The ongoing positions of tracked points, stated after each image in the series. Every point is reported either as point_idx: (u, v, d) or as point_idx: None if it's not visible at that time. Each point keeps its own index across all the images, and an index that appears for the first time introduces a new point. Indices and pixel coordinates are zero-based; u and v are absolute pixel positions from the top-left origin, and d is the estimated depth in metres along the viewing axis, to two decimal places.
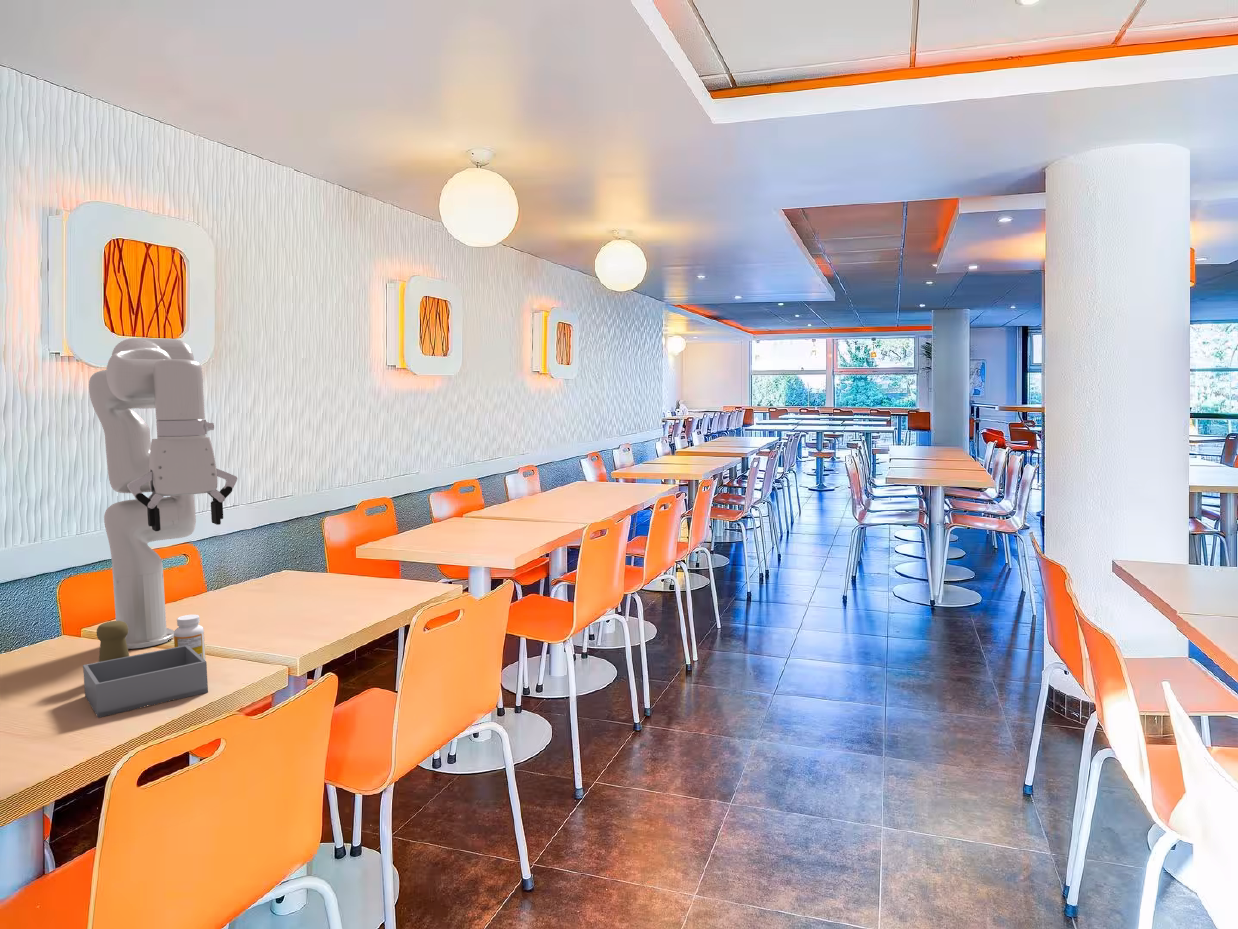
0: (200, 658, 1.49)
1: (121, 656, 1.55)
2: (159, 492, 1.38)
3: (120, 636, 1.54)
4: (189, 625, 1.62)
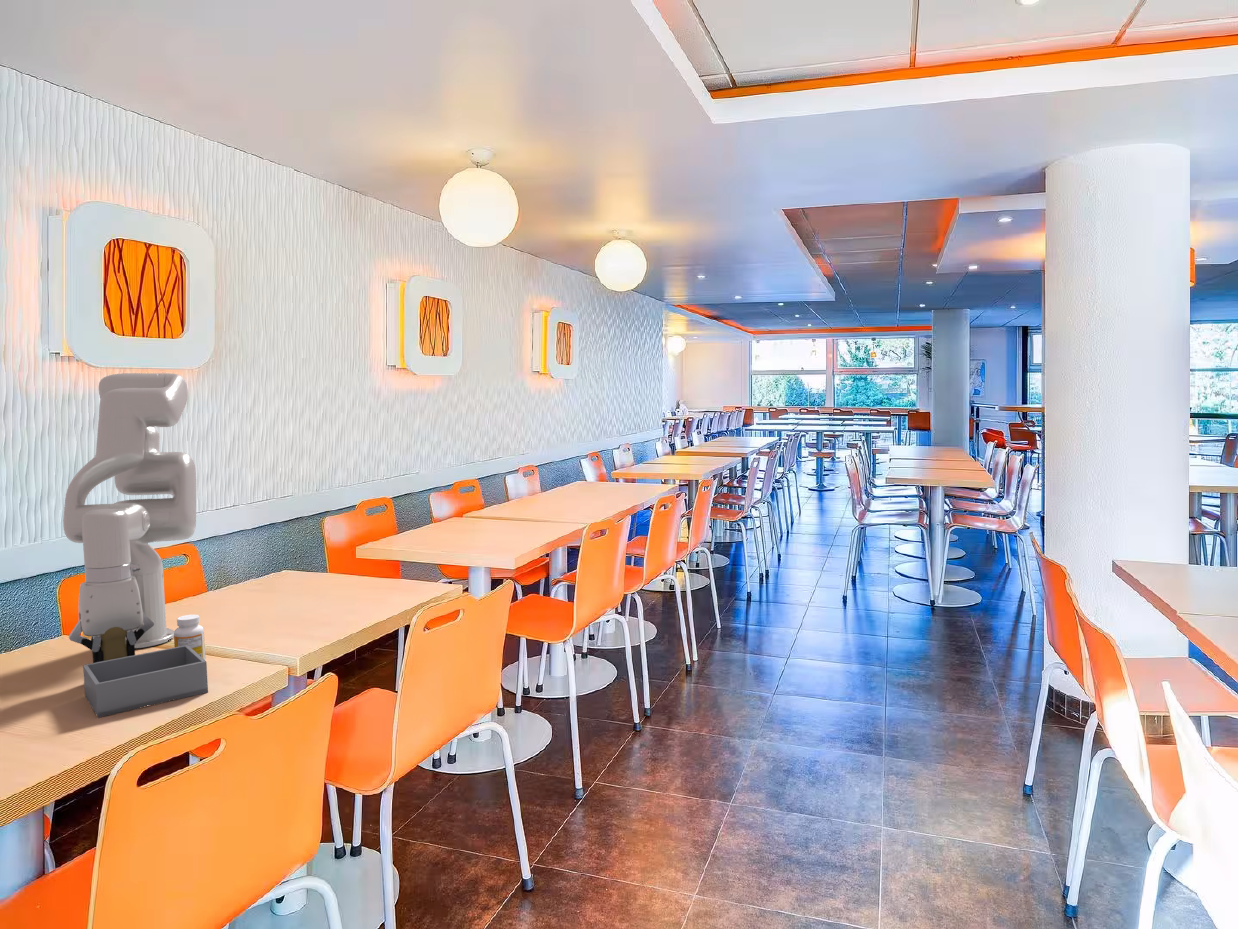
0: (200, 658, 1.49)
1: (121, 656, 1.55)
2: (86, 634, 1.51)
3: (120, 636, 1.54)
4: (189, 625, 1.62)
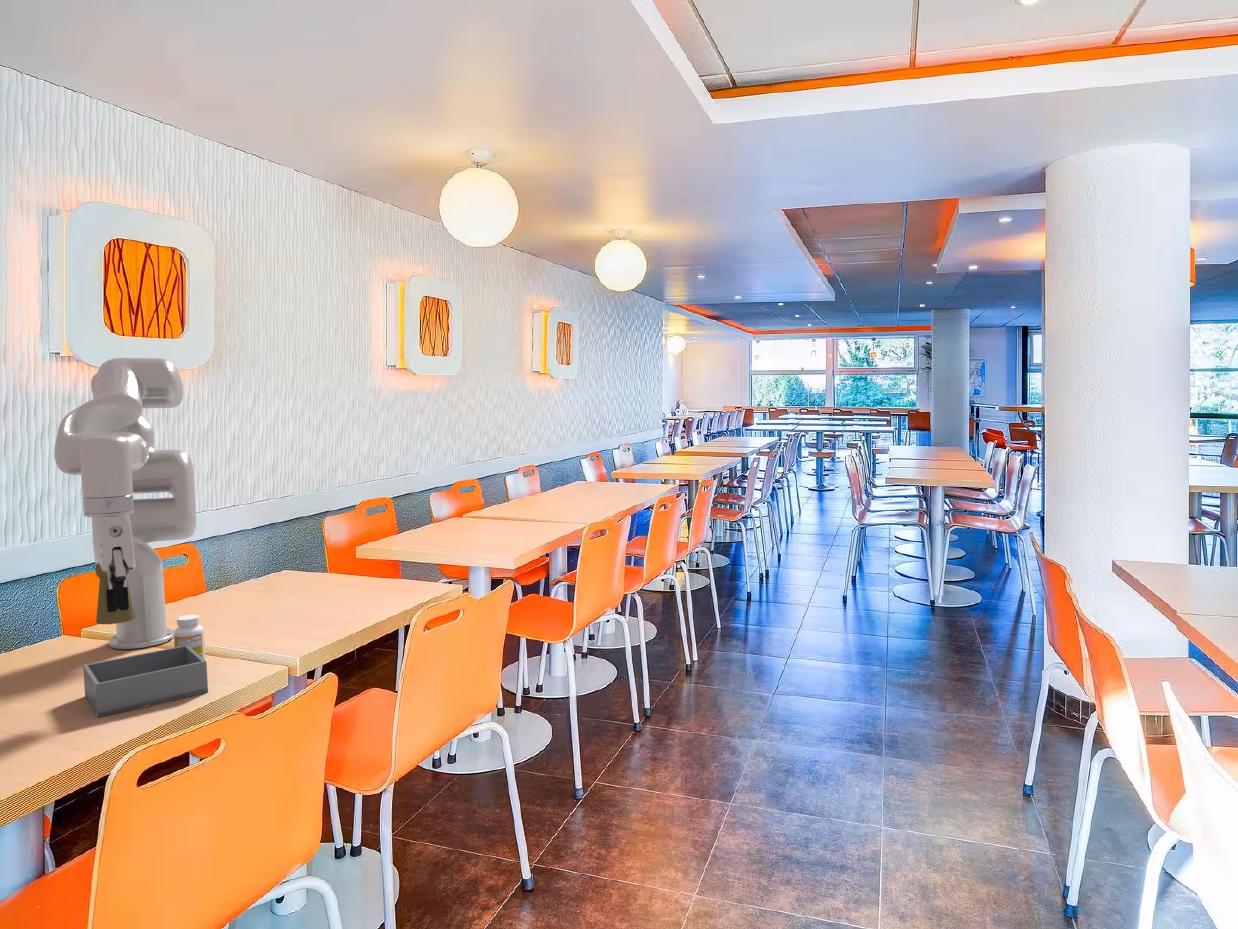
0: (200, 658, 1.49)
1: (100, 597, 1.41)
2: (95, 561, 1.45)
3: (99, 575, 1.41)
4: (189, 625, 1.62)
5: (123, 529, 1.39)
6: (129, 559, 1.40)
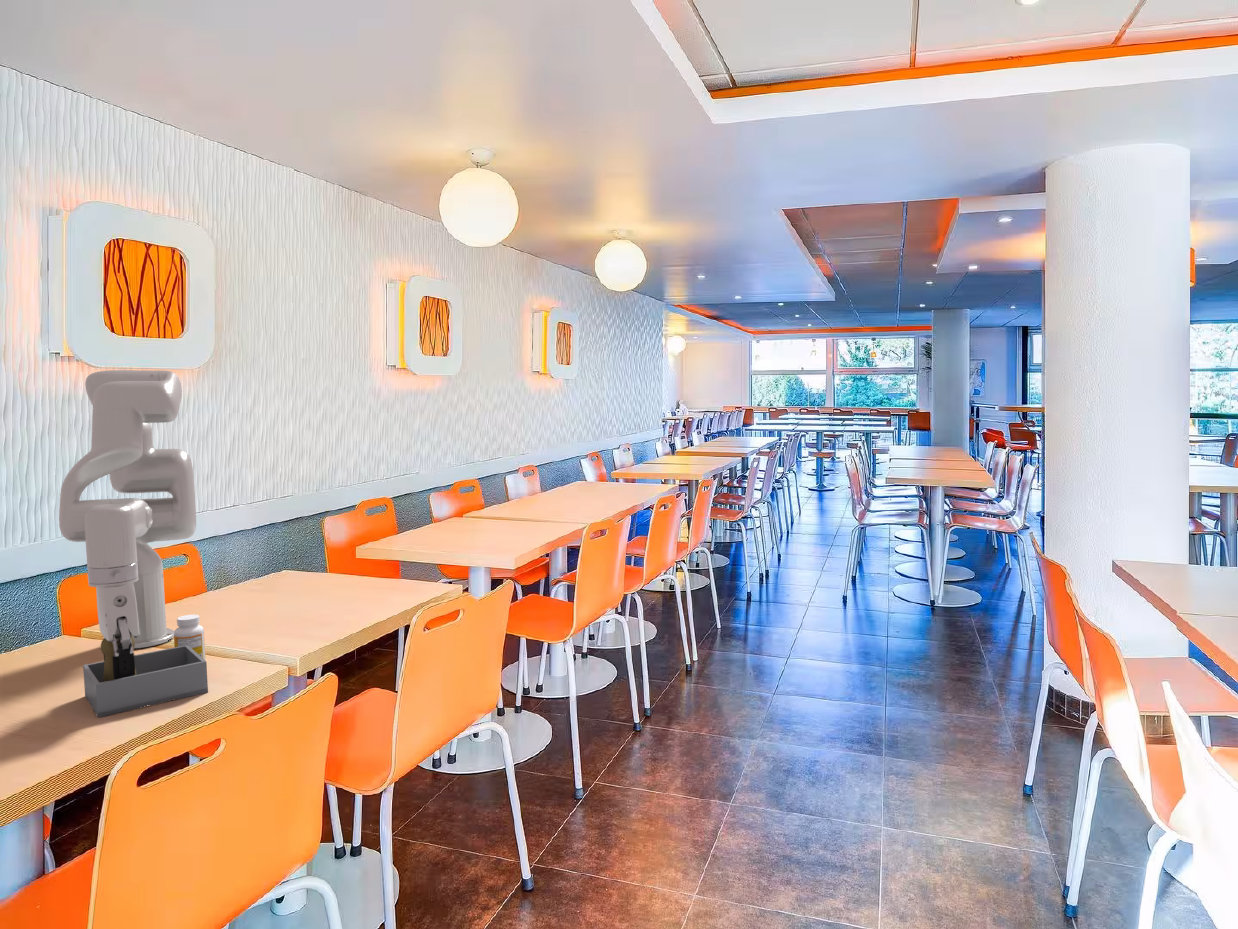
0: (200, 658, 1.49)
1: (105, 674, 1.42)
2: (100, 628, 1.46)
3: (104, 653, 1.42)
4: (189, 625, 1.62)
5: (127, 599, 1.40)
6: (133, 628, 1.41)
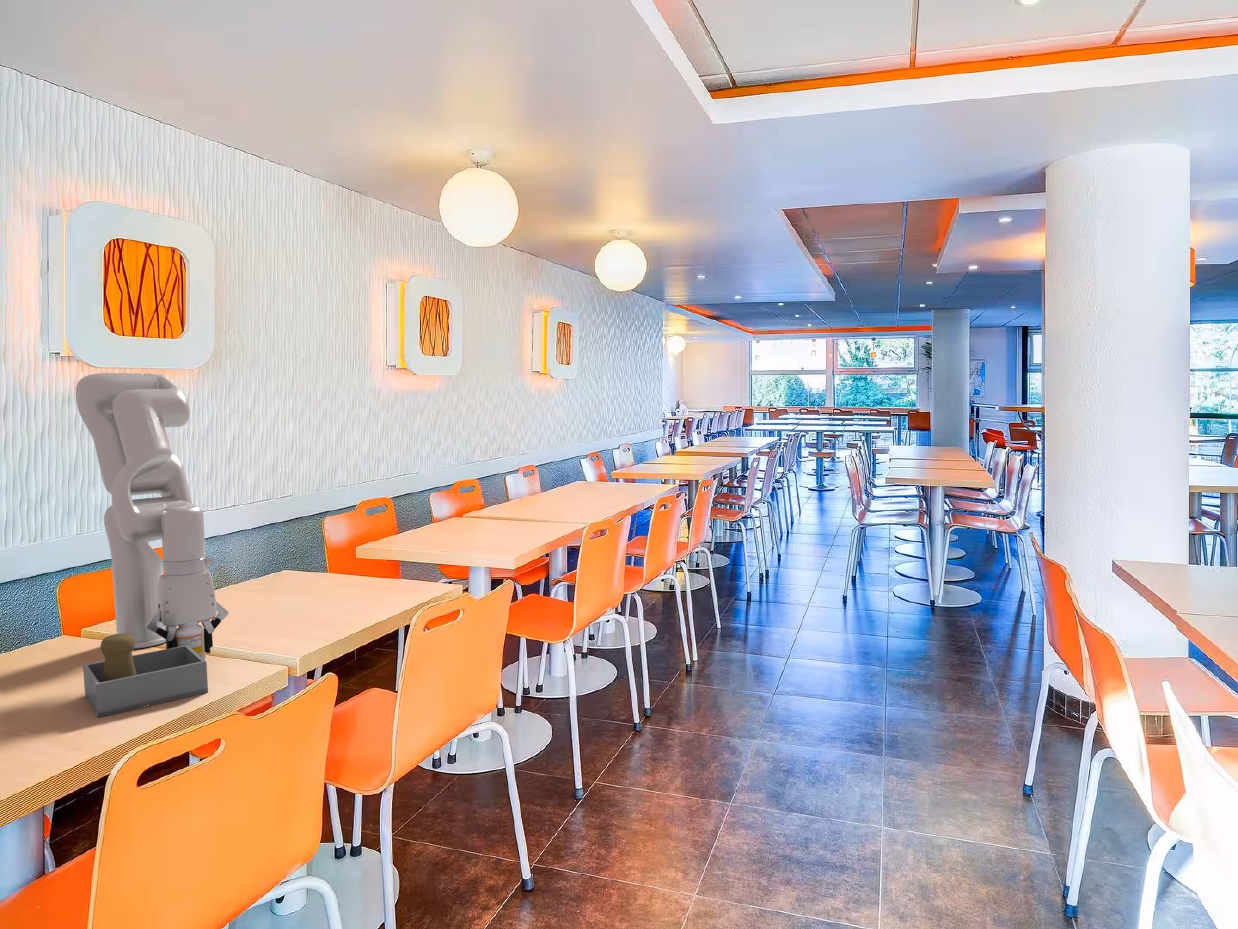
0: (200, 658, 1.49)
1: (105, 674, 1.42)
2: (166, 624, 1.59)
3: (104, 653, 1.42)
4: (189, 625, 1.62)
5: None
6: None
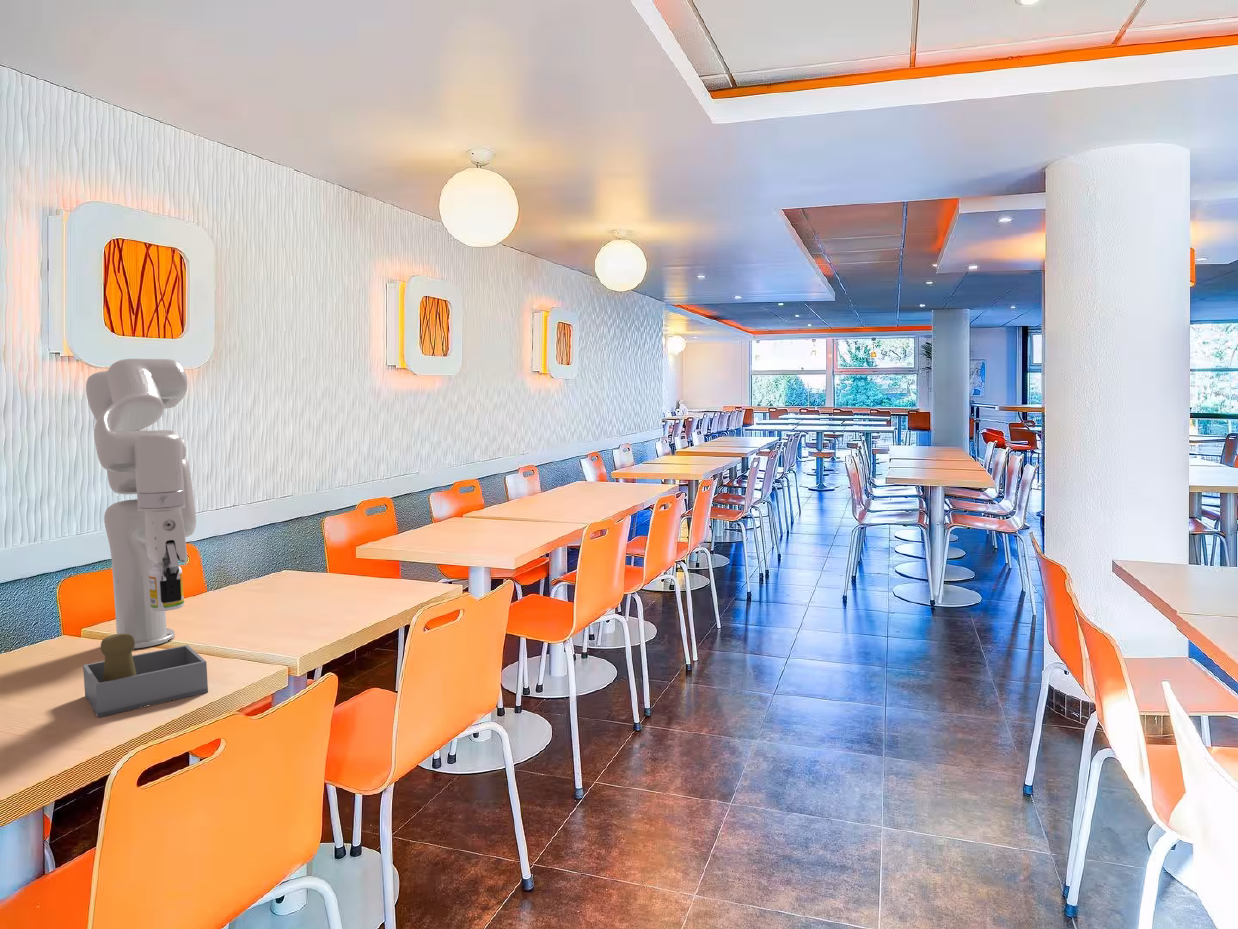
0: (200, 658, 1.49)
1: (105, 674, 1.42)
2: (147, 555, 1.50)
3: (104, 653, 1.42)
4: None
5: (176, 523, 1.45)
6: (181, 552, 1.45)
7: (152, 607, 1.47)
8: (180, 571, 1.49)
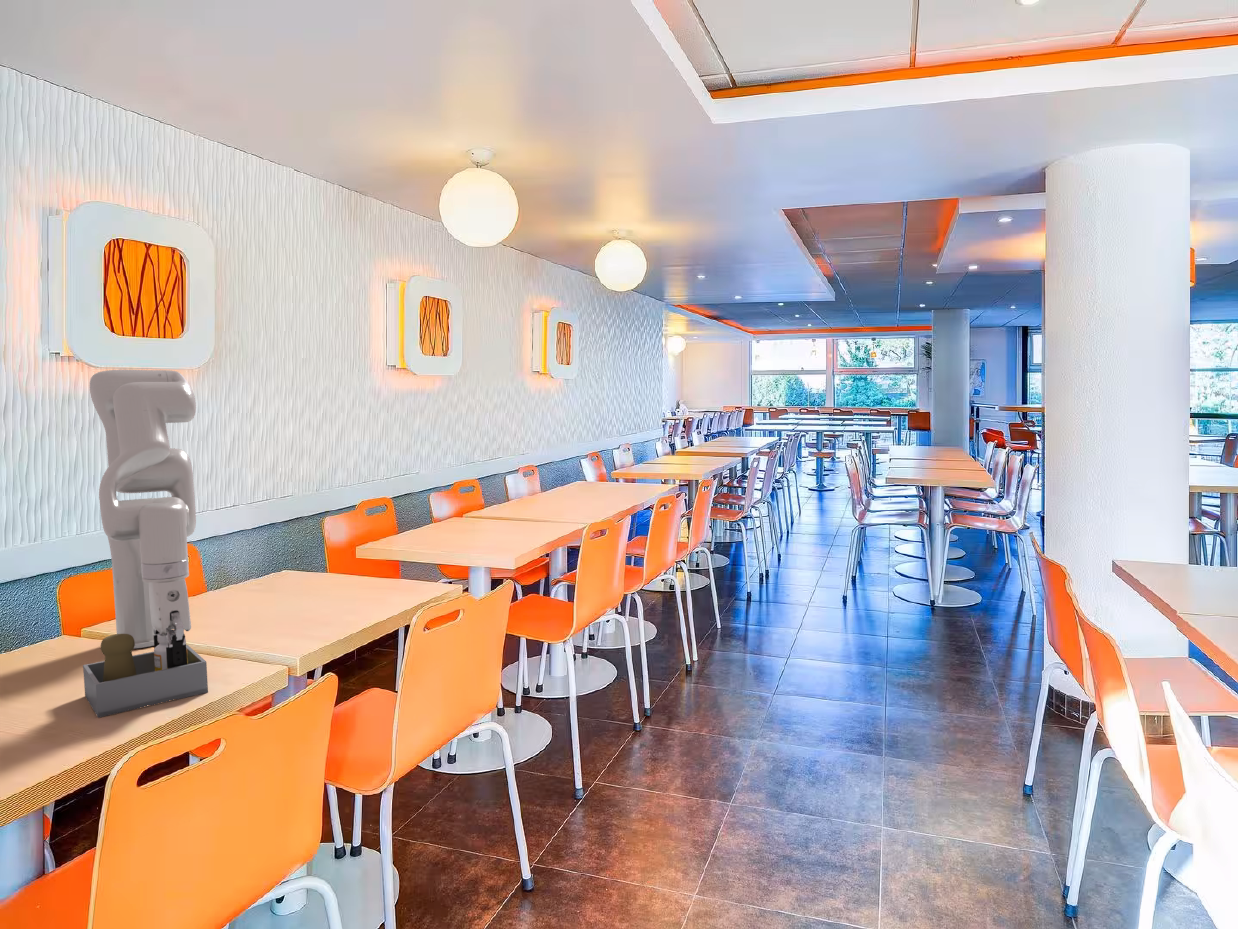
0: (200, 658, 1.49)
1: (105, 674, 1.42)
2: (151, 622, 1.51)
3: (104, 653, 1.42)
4: None
5: (180, 593, 1.46)
6: (185, 622, 1.46)
7: None
8: None
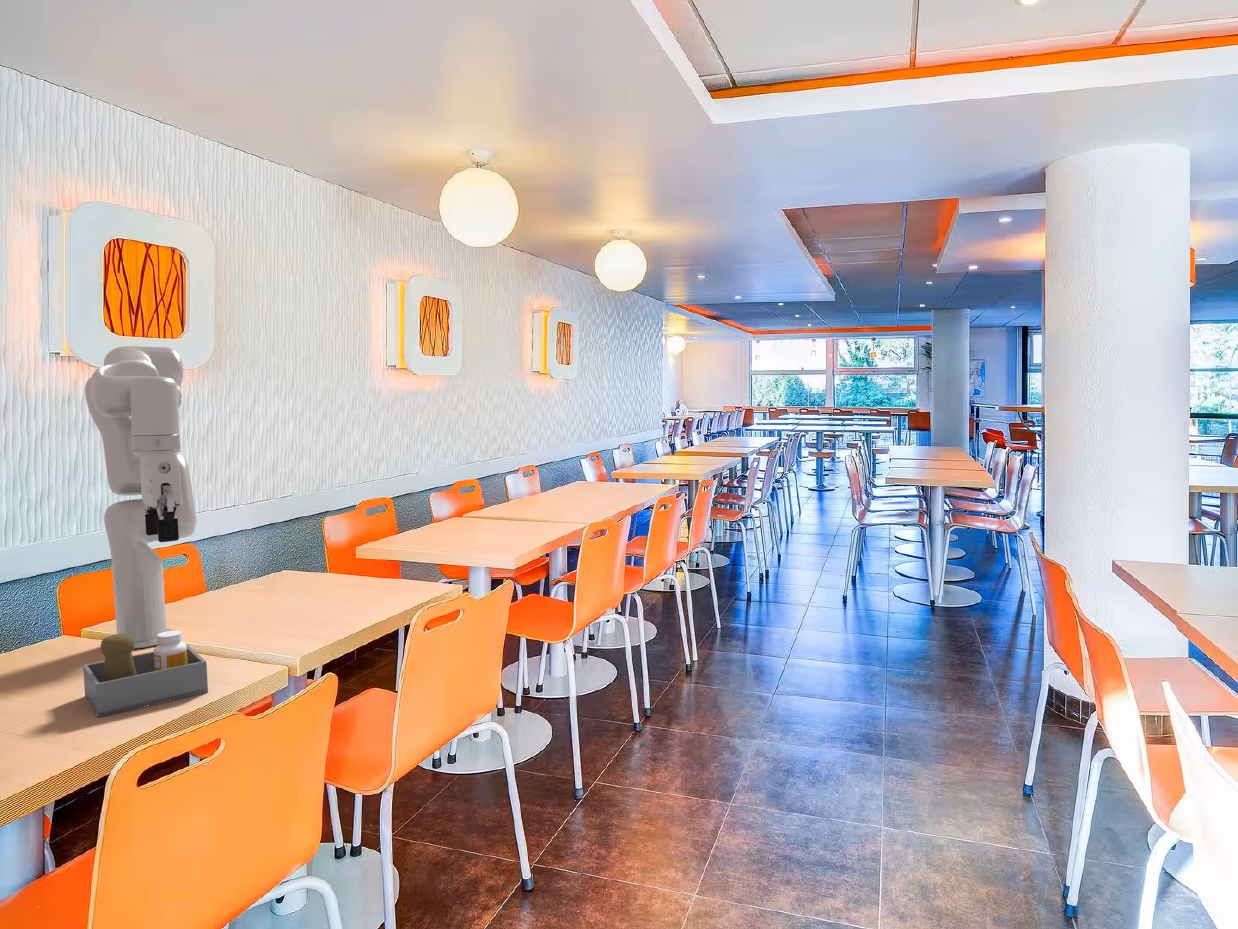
0: (200, 658, 1.49)
1: (105, 674, 1.42)
2: (142, 500, 1.50)
3: (104, 653, 1.42)
4: None
5: (171, 466, 1.44)
6: (177, 495, 1.45)
7: None
8: (185, 648, 1.50)
